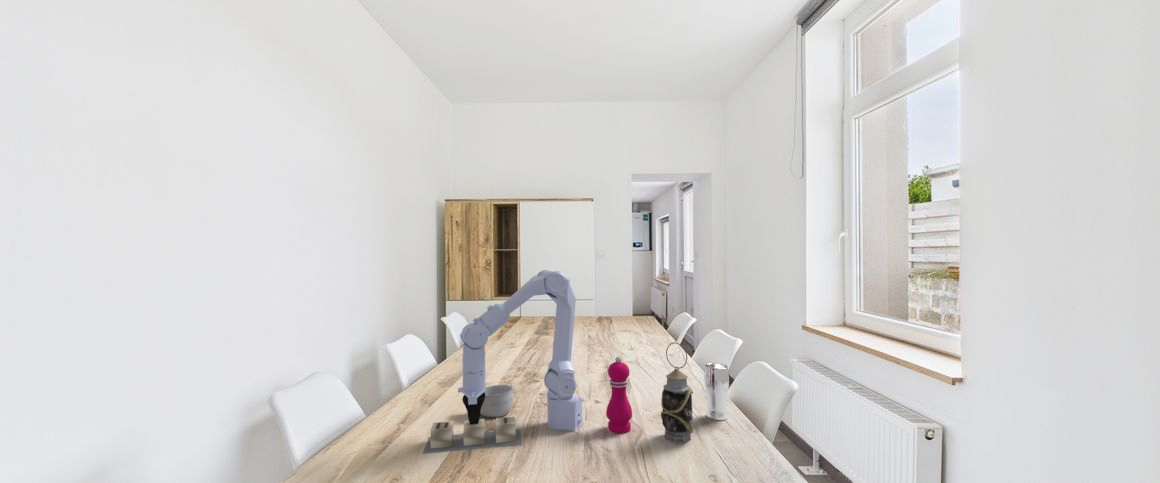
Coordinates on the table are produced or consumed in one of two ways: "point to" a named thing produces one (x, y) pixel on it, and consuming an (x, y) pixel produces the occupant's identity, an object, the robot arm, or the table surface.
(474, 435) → the plain block
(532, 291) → the robot arm
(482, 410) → the teacup
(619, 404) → the pepper mill
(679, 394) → the lantern
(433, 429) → the marked block two
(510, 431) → the marked block one
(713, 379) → the silver tall cylinder
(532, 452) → the table surface
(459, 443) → the mat
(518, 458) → the table surface
